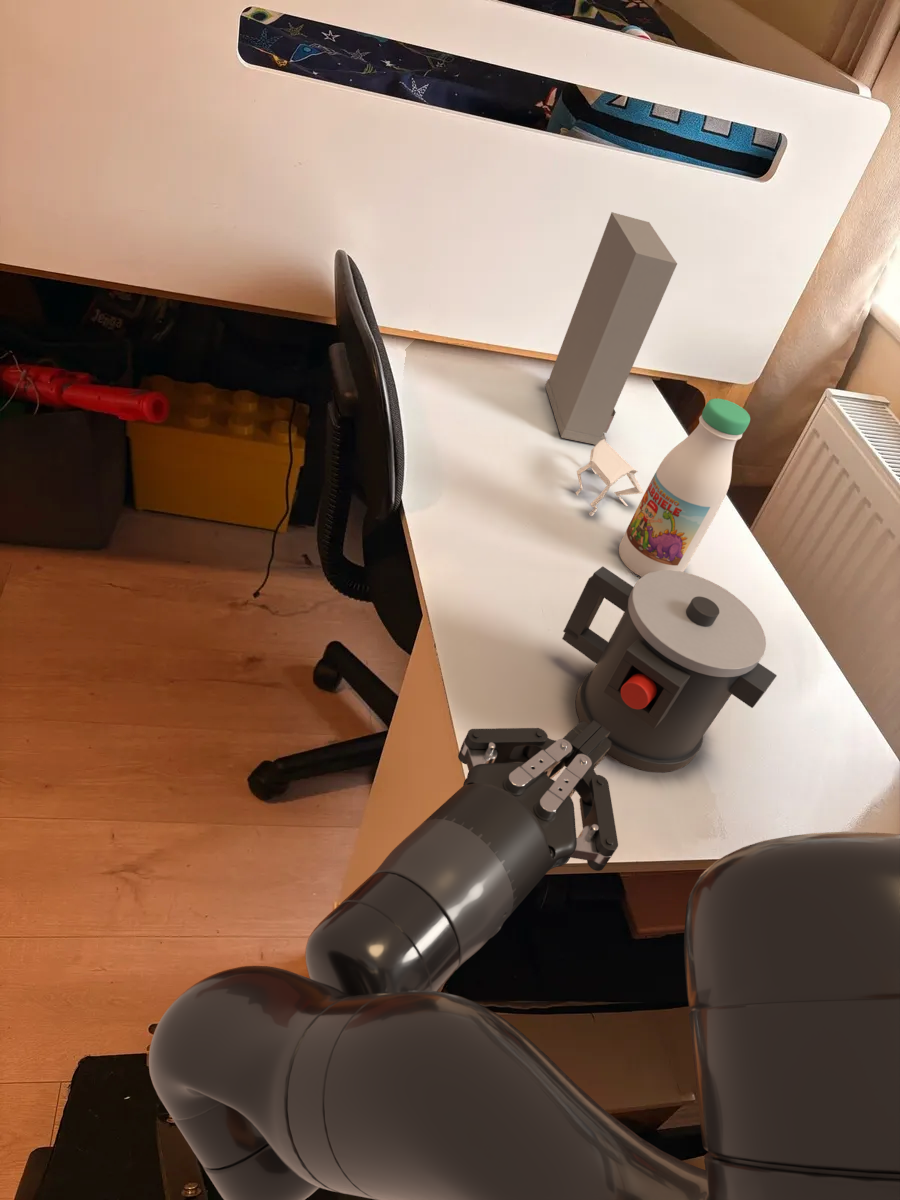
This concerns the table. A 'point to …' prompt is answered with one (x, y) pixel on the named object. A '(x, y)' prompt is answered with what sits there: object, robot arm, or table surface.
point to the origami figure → (609, 471)
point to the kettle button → (638, 691)
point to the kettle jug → (666, 662)
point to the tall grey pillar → (608, 327)
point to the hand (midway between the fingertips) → (598, 733)
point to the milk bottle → (685, 493)
